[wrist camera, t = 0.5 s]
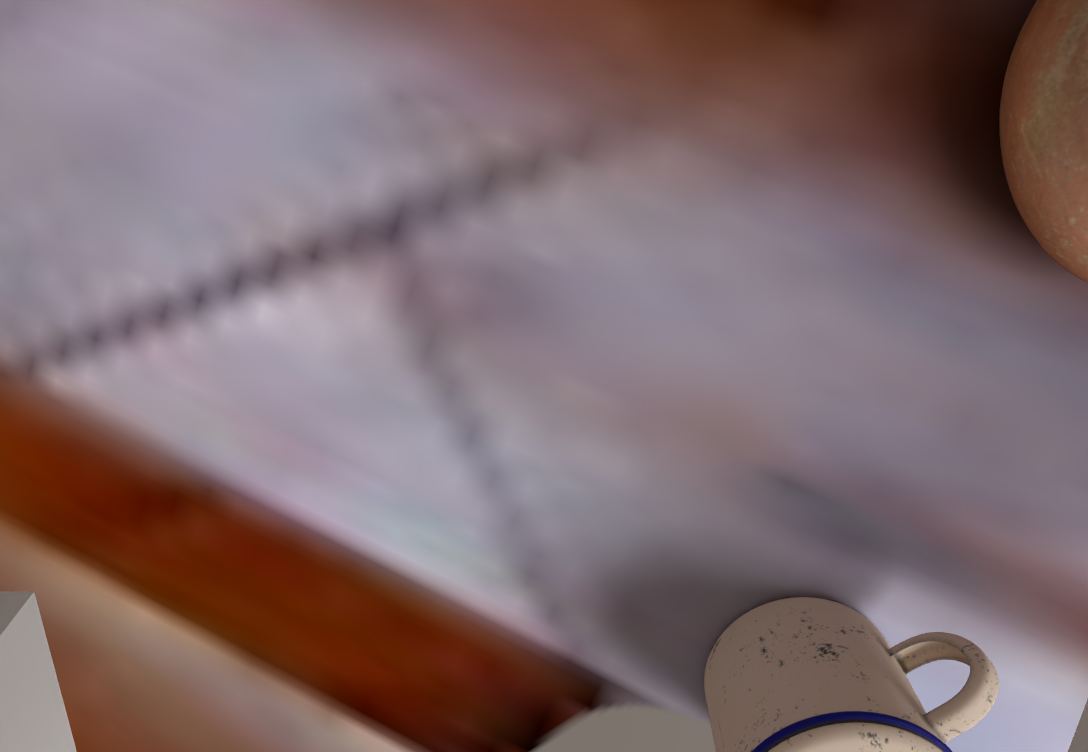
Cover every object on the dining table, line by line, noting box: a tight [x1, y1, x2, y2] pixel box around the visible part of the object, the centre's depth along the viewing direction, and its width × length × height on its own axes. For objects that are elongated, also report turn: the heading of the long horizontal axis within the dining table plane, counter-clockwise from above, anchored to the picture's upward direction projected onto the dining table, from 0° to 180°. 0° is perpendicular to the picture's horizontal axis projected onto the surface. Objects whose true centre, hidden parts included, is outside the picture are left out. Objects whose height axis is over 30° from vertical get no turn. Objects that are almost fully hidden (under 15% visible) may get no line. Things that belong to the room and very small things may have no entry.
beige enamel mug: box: [704, 597, 999, 752], centre depth 35 cm, size 12×9×12 cm
